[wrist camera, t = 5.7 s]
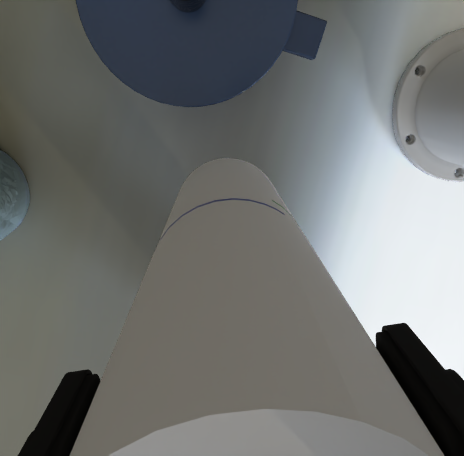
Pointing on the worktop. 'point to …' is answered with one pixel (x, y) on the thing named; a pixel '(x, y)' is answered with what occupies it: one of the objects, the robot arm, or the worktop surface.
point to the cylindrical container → (244, 343)
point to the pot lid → (188, 44)
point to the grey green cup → (12, 195)
